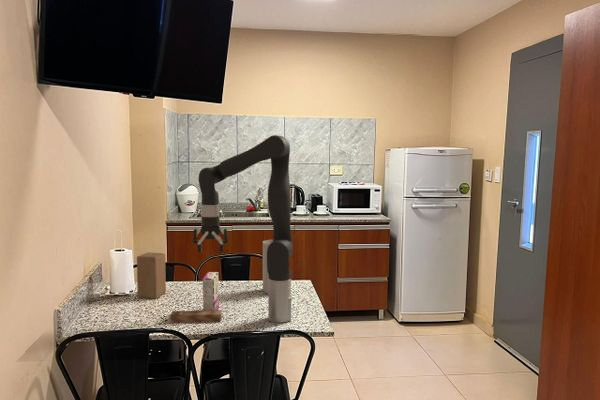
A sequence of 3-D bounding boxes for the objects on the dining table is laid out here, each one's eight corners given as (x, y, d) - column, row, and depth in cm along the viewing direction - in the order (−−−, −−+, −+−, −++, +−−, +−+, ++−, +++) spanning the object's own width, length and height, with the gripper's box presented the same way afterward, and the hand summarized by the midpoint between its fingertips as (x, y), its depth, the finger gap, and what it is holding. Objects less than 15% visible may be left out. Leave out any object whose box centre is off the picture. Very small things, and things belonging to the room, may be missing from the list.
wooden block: (156, 299, 217) (155, 257, 216) (136, 297, 219) (135, 256, 218) (166, 293, 227) (166, 252, 225) (147, 292, 229) (147, 251, 227)
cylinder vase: (257, 291, 232) (257, 241, 230) (274, 286, 241) (275, 238, 239) (275, 296, 224) (276, 245, 221) (292, 291, 233) (293, 241, 231)
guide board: (221, 317, 194) (221, 310, 194) (220, 321, 189) (220, 314, 189) (172, 318, 193) (172, 310, 192) (170, 322, 188) (170, 314, 187)
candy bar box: (207, 308, 206) (207, 271, 204) (219, 308, 206) (219, 271, 204) (202, 317, 195) (202, 278, 193) (214, 317, 195) (214, 278, 193)
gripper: (191, 216, 192) (192, 255, 194) (226, 216, 193) (227, 254, 195) (194, 214, 200) (195, 251, 201) (228, 213, 201) (228, 251, 202)
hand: (210, 253), depth 198 cm, fingers open, 8 cm apart
